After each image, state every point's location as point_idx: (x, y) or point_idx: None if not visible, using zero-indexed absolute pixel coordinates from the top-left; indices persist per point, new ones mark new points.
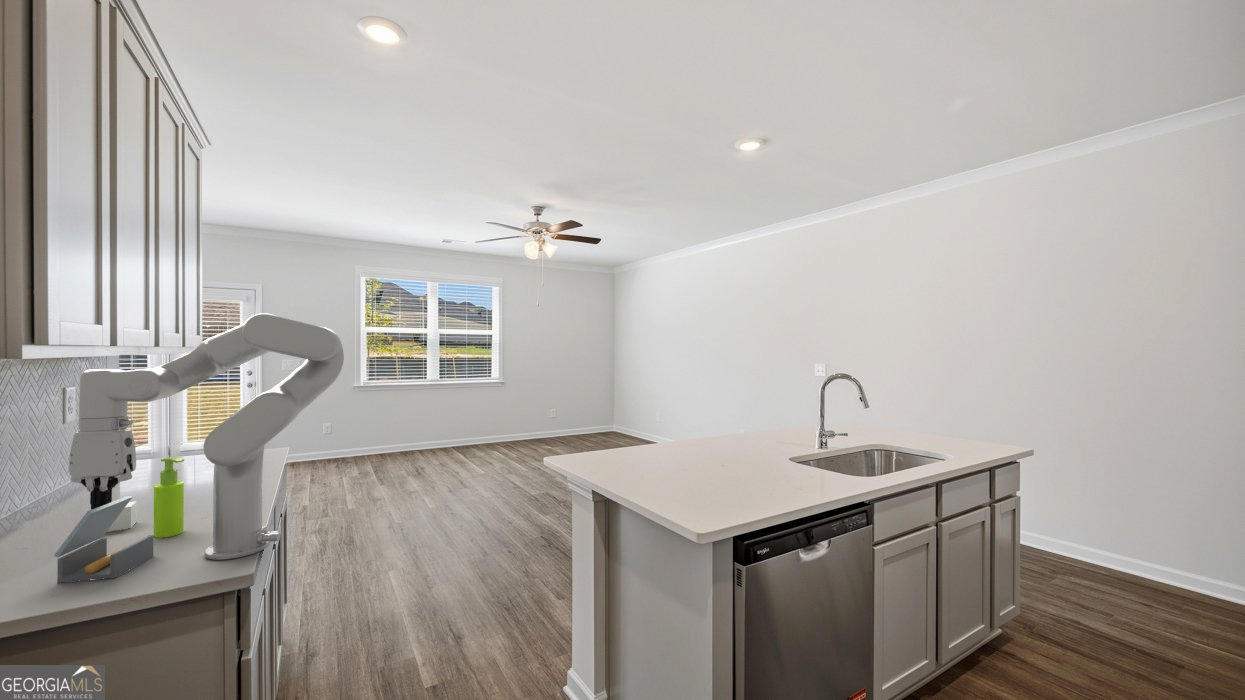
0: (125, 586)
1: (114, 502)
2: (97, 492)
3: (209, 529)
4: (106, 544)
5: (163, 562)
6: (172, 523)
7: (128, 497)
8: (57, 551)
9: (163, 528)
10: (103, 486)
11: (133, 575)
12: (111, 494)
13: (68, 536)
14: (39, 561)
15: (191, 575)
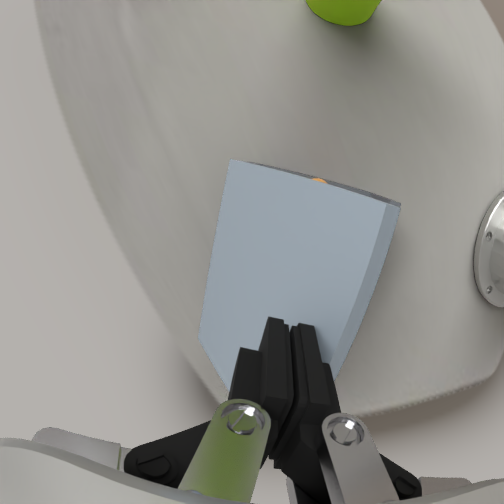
0: (361, 373)
1: (341, 354)
2: (276, 464)
3: (430, 21)
4: (258, 164)
5: (407, 261)
6: (370, 7)
7: (387, 235)
8: (204, 348)
9: (346, 13)
10: (307, 490)
11: (364, 323)
12: (335, 399)
13: (224, 382)
14: (104, 116)
15: (448, 358)
